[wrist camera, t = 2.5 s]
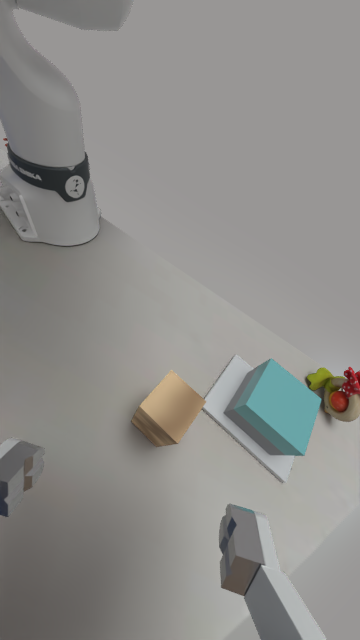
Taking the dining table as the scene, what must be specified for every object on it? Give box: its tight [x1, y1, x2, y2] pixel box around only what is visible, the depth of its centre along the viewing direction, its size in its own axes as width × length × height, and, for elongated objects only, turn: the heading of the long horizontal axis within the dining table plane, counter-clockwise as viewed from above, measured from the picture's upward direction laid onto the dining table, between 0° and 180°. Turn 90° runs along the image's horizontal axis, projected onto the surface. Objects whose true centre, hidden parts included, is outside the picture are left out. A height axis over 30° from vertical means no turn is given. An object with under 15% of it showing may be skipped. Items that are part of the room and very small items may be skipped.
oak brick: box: [131, 370, 206, 447], centre depth 27 cm, size 5×5×12 cm
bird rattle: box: [307, 367, 360, 422], centre depth 37 cm, size 6×11×9 cm
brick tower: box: [202, 354, 322, 483], centre depth 33 cm, size 16×12×8 cm
